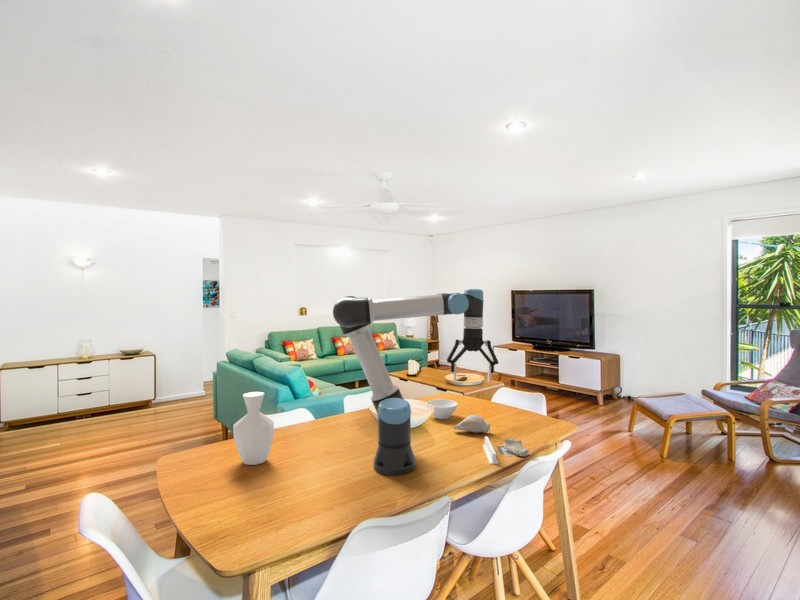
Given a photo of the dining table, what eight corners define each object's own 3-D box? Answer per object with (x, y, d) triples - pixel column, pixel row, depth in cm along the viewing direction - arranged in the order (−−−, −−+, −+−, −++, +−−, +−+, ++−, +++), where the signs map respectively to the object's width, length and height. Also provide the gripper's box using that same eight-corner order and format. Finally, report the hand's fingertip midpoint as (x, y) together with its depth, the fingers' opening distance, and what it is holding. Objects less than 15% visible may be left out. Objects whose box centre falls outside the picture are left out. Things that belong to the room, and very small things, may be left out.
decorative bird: (490, 434, 171) (491, 417, 173) (453, 428, 174) (455, 410, 176) (488, 435, 179) (490, 418, 181) (453, 429, 182) (455, 412, 184)
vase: (281, 455, 153) (280, 390, 153) (258, 470, 139) (258, 400, 139) (249, 451, 157) (249, 388, 156) (224, 466, 143) (224, 397, 143)
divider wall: (490, 464, 143) (490, 453, 143) (482, 446, 161) (482, 436, 161) (498, 464, 143) (498, 453, 143) (489, 446, 161) (489, 436, 161)
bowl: (441, 410, 212) (441, 397, 212) (464, 417, 200) (464, 403, 200) (419, 416, 202) (419, 402, 202) (442, 424, 190) (442, 409, 189)
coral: (526, 458, 147) (526, 447, 147) (500, 451, 154) (500, 439, 154) (532, 454, 151) (532, 442, 151) (506, 446, 158) (506, 435, 158)
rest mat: (502, 458, 149) (502, 457, 149) (496, 446, 161) (496, 445, 161) (534, 458, 148) (534, 458, 148) (526, 446, 160) (526, 446, 160)
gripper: (442, 327, 155) (440, 381, 155) (506, 329, 153) (505, 384, 153) (441, 326, 162) (440, 377, 162) (503, 328, 160) (501, 380, 161)
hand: (471, 381), depth 158 cm, fingers open, 13 cm apart
